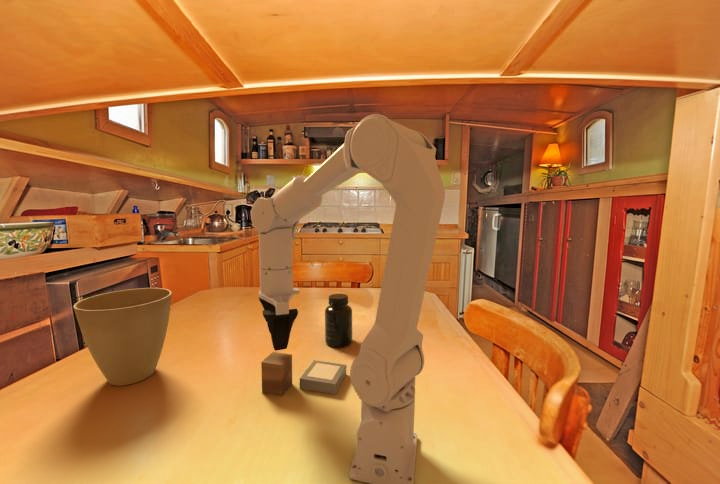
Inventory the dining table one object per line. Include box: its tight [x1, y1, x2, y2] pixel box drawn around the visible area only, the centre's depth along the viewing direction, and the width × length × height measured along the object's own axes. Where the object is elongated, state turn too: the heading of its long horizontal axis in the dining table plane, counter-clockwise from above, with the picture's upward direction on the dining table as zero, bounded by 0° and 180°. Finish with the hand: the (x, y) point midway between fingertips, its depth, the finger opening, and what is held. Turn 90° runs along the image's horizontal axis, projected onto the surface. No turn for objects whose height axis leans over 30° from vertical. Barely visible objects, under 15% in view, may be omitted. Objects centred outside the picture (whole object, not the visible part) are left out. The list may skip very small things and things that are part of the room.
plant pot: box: [72, 287, 173, 387], centre depth 59 cm, size 15×15×16 cm
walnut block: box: [260, 351, 293, 397], centre depth 56 cm, size 4×4×6 cm
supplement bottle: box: [324, 293, 353, 349], centre depth 75 cm, size 7×7×12 cm
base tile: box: [299, 359, 347, 395], centre depth 59 cm, size 7×7×2 cm
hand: (277, 339), depth 55 cm, fingers open, 7 cm apart
